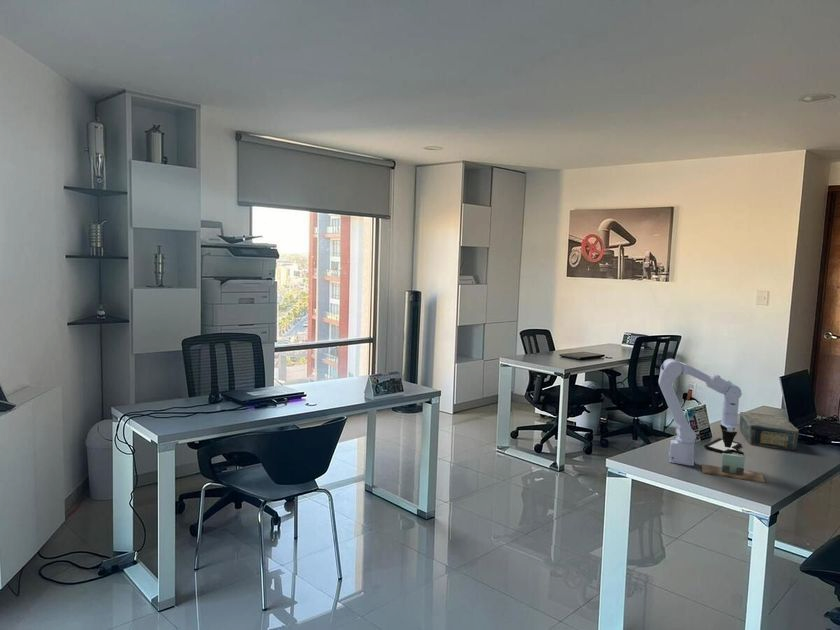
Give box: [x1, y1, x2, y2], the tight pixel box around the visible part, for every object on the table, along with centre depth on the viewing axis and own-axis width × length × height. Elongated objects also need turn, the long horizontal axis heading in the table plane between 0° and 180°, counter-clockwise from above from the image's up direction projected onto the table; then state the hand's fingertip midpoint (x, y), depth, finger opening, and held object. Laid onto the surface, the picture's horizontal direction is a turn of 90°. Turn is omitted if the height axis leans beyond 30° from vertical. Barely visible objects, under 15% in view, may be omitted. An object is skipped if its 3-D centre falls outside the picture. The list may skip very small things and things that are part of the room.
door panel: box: [720, 453, 746, 473], centre depth 243 cm, size 8×2×7 cm, turn 67°
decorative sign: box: [703, 437, 745, 456], centre depth 280 cm, size 22×2×15 cm
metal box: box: [738, 411, 800, 451], centre depth 300 cm, size 21×32×10 cm, turn 160°
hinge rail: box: [700, 463, 766, 484], centre depth 243 cm, size 22×10×3 cm, turn 67°
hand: (726, 444), depth 252 cm, fingers open, 7 cm apart
